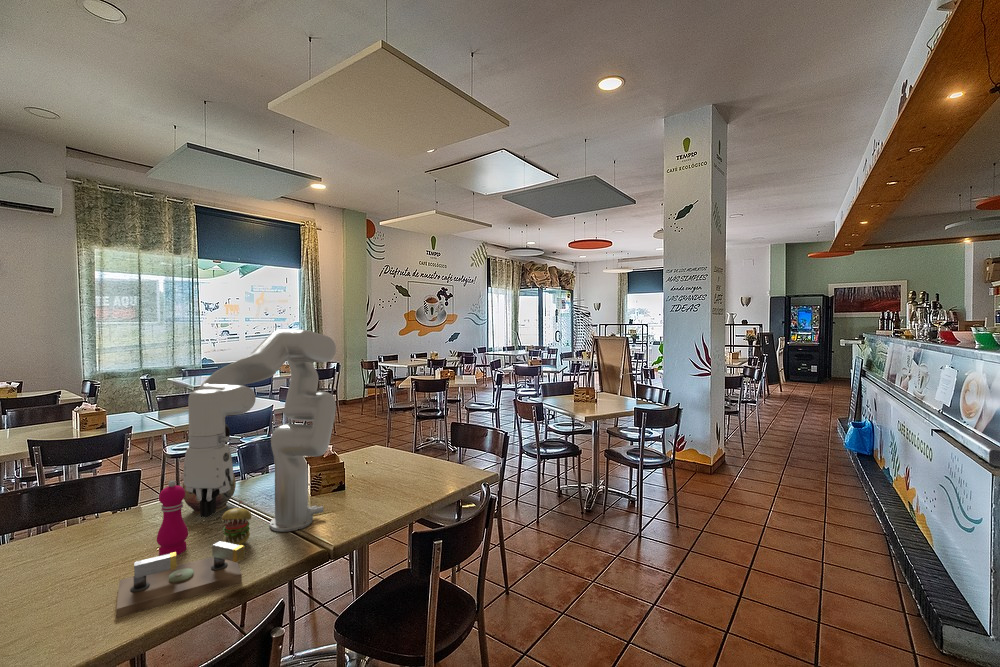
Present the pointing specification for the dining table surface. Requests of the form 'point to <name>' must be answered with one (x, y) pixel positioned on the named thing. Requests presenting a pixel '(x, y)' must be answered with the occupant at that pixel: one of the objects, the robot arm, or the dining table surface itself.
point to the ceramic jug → (220, 500)
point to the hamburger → (236, 525)
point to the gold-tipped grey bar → (226, 553)
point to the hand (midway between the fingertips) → (208, 515)
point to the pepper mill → (172, 520)
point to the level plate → (176, 585)
